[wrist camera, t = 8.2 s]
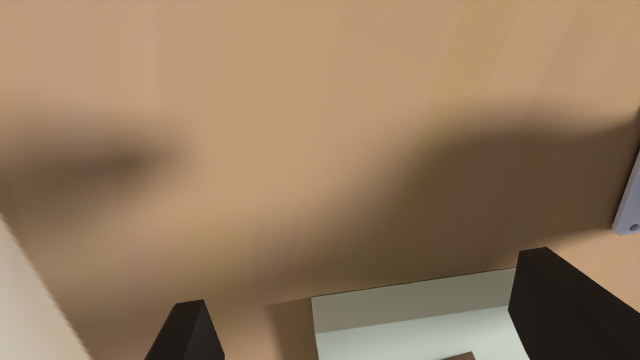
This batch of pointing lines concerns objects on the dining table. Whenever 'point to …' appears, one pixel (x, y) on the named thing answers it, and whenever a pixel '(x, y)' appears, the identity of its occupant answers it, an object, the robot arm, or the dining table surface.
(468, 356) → the walnut cube
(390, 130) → the dining table surface
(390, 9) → the dining table surface
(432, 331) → the base
